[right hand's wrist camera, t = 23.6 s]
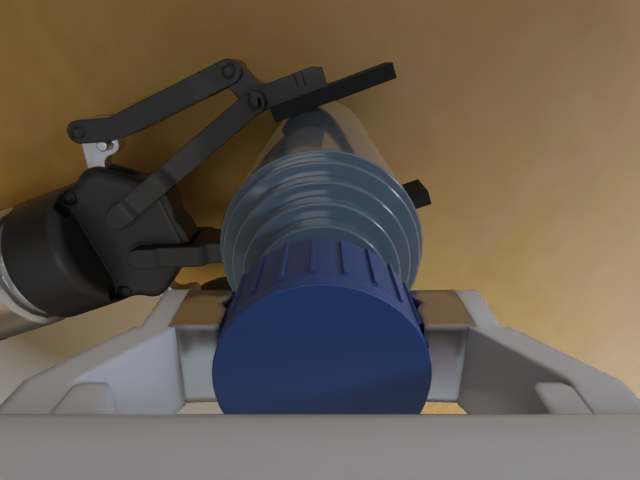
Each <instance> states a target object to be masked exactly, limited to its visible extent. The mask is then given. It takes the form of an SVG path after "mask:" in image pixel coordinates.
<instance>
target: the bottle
mask: <svg viewBox="0 0 640 480" xmlns="http://www.w3.org/2000/svg"><path fill="white" fill-rule="evenodd" d="M312 238H316V239H332V240H338V241H340V239H341V240H344V242H348V243H351V244H355V245H357V246H360V247H362V248H365V249H367V248H368V249H370V250H371V252H372V253H374V254H375V255H377V256H378V257H380V258H381V259H382V260H383V261H385V262H386V263H387V264H389V263H390V264H391V265H392V267H393V270H394V271H395V273H396V274H397V275H398V277H399V278H400V280H401V282H402V283H406V285H407V287H408V290H409V291H410V290H411V288H412V286H413V284H414V282H415V279H416V276H417V273H418V268H419V265H420V261H421V255H422V242H423V239H422V229H421V224H420V220H419V216H418V214H417V211H416V209H415V206H414V204H413V202H412V200H411V199H410V197H409V195H408V194H407V192H406V190H405V189H404V187H403V186H402V184H401V183H400V181H399V180H398V178H397V177H396V175H395V174H394V172H393V171H392V169H391V168H390V166H389V165H388V163H387V161H386V160H385V158H384V157H383V155H382V154H381V152H380V151H379V149H378V148H377V146H376V145H375V143H374V142H373V140H372V139H371V137H370V136H369V134H368V133H367V131H366V130H365V128H364V126H363V125H362V123H361V122H360V120H359V119H358V117H357V116H356V115H355V114H354V113H353V112H352V111H351V110H350V109H349V108H348V107H346V106H345V105H343V104H341V103H339V102H337V101H333V102H330V103H327V104H325V105H322V106H319V107H317V108H314V109H311V110H308V111H306V112H303V113H300V114H298V115H295V116H292V117H290V118H287V119H284V120H282V122H281V123H280V125H279V126H278V128H277V130H276V131H275V133H274V134H273V136H272V137H271V139H270V140H269V142H268V144H267V145H266V147H265V148H264V150H263V151H262V153H261V154H260V156H259V158H258V159H257V161H256V162H255V164H254V165H253V167H252V168H251V170H250V171H249V173H248V175H247V176H246V178H245V179H244V181H243V182H242V184H241V185H240V187H239V189H238V190H237V192H236V193H235V195H234V196H233V198H232V199H231V201H230V203H229V206H228V208H227V210H226V212H225V216H224V219H223V222H222V227H221V234H220V251H221V258H222V263H223V266H224V270H225V274H226V277H227V280H228V283H229V285H230V287H231V289H232V291H235V292H237V289H238V286H239V283H240V281H241V278H242V275H243V274H244V273H245V274H247V273H248V272H249V270H250V269H251V268H252V267H253V266H254V265H255V264H256V263H257V262H258V261H259V260H260V257H262V256H264V257H265V256H266V255H268V254H269V253H271V252H273V251H275V250H277V249H279V248H281V247H283V246H284V244H287V243H288V245H289V244H291V243H295V242H300V241H304V240H312Z"/></svg>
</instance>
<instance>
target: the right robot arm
mask: <svg viewBox="0 0 640 480" xmlns="http://www.w3.org/2000/svg"><path fill="white" fill-rule="evenodd" d="M409 293H410V295H411V298H412V300H413V303H414V305H415V308H416V311H417V313H418V316H419V318H420V321H421V324H419V326H420V329H421V332H422V334H423V337H424V340H425V342H426V344H429V349H428V351H429V354H430V359H431V365H432V379H431V386H430V391H429V394H428V397H427V401H426V402H452V403H458V405H459V406H460V407H461V408H462V409H463V410H465V411H466V412H467V413H468V414H176V413H177V412H178V411H179V410H180V409H181V408H183V407H184V406H185V403H191V402H218V401H217V399H216V396H215V392H214V388H213V383H212V362H213V357H214V353H215V349H216V346H217V344H218V341H219V338H217V334H218V332H220V330H221V328H222V325H223V323H224V320H225V318H226V315H227V312H226V310H227V308H228V305H229V303H231V301H232V299H233V296H234V295H235V294H236V292H235V291H228V290H190V289H182V290H166V291H165V293H164V294H163V296H162V297H161V299H160V300H159V302H158V303H157V305H156V306H155V307H154V309H153V310H152V312H151V313H150V315H149V316H148V318H147V319H146V320H145V322H144V323H143V325H142V326H141V327H133V328H131V329H129V330H127V331H125V332H122V333H120V334H118V335H116V336H114V337H112V338H110V339H108V340H106V341H104V342H102V343H100V344H98V345H96V346H94V347H92V348H90V349H88V350H86V351H84V352H81V353H79V354H77V355H75V356H73V357H71V358H69V359H67V360H65V361H63V362H61V363H59V364H57V365H55V366H53V367H51V368H49V369H47V370H45V371H43V372H40V373H39V374H36V375H34V376H32V377H30V378H28V379H26V380H24V381H23V382H22V383H21V384H20V385H19V386H18V387H17V388H16V389H15V390H14V391H13V393H12V394H11V395H10V396H9V397H8V398H7V399H6V400H5V401H4V402H3V403H2V404H1V405H0V480H640V400H639V399H638V398H637V396H636V395H635V394H634V393H633V392H632V391H631V390H630V389H629V388H628V387H627V386H626V385H625V384H624V383H623V382H622V381H620V380H618V379H616V378H614V377H612V376H610V375H608V374H606V373H604V372H602V371H600V370H598V369H596V368H594V367H592V366H590V365H587V364H585V363H583V362H581V361H579V360H577V359H575V358H573V357H571V356H569V355H567V354H565V353H563V352H561V351H559V350H557V349H554V348H552V347H550V346H548V345H546V344H544V343H542V342H540V341H538V340H536V339H534V338H532V337H530V336H528V335H526V334H524V333H522V332H519V331H517V330H515V329H513V328H511V327H502V325H501V324H500V322H499V321H498V319H497V318H496V317H495V315H494V314H493V312H492V311H491V310H490V308H489V307H488V305H487V304H486V303H485V301H484V300H483V298H482V297H481V295H480V294H479V293H478V291H476V290H474V289H468V290H416V291H409Z"/></svg>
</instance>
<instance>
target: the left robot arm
mask: <svg viewBox="0 0 640 480" xmlns="http://www.w3.org/2000/svg"><path fill="white" fill-rule="evenodd" d="M394 78H397V77H396V74H395V70H394V67H393V63H392V62H385V63H382V64H380V65H377V66H374V67H372V68H369V69H366V70H364V71H361V72H358V73H356V74H353V75H350V76H348V77H345V78H342V79H340V80H337V81H335V82H332V83H329V84H327V82H326V79H325V76H324V73H323V70H322V67H310V68H307V69H304V70H302V71H299V72H297V73H294V74H291V75H289V76H286V77H284V78H281V79H278V80H276V81H273V82H270V83H263V82H260V81H259V80H257V79H256V78H255V77H254V75H253V74H252V73H251V72H250V71H249V69H248V68H247V66H246V64H245V63H244V62H243V61H241V60H239V59H224V60H221V61H219V62H218V63H216V64H214V65H212V66H210V67H208V68H206V69H204V70H202V71H200V72H198V73H196V74H194V75H192V76H190V77H188V78H186V79H184V80H182V81H180V82H178V83H176V84H174V85H172V86H170V87H168V88H166V89H164V90H162V91H160V92H158V93H156V94H154V95H152V96H150V97H148V98H146V99H144V100H142V101H140V102H138V103H136V104H134V105H132V106H130V107H128V108H127V109H125V110H123V111H121V112H119V113H117V114H111V115H98V116H93V117H89V118H85V119H81V120H77V121H73V122H71V123H70V124H69V125H68V128H67V131H68V135H69V137H70V138H71V139H72V140H73V141H74V142H76V143H79V144H81V145H82V149H83V152H84V156H85V160H86V163H87V167H88V169H87V170H85V171H84V172H83V173H82V175H81V176H80V178H79V179H78V180H77V181H76V182H75V183H73V184H71V185H68V186H65V187H63V188H60V189H57V190H55V191H52V192H49V193H47V194H44V195H42V196H39V197H36V198H34V199H31V200H28V201H26V202H23V203H21V204H19V205H17V206H16V207H15V208H7V209H5V210H2V211H0V340H3V339H6V338H9V337H12V336H15V335H18V334H21V333H24V332H27V331H31V330H34V329H37V328H40V327H43V326H46V325H49V324H52V323H55V322H58V321H61V320H63V319H65V318H66V317H72V316H76V315H79V314H82V313H85V312H88V311H91V310H94V309H97V308H100V307H103V306H106V305H109V304H112V303H115V302H118V301H121V300H123V299H126V298H128V297H131V296H134V295H146V296H158V295H159V296H160V297H162V296H163V294H164V293H165V291H166V290H182V289H190V290H228V291H232V289H231V287H230V285H229V283H228V280H227V277H222V278H218V279H215V280H211V281H209V282H207V283H205V284H203V285H201V286H200V284H199V283H198V282H193V283H188V284H183V285H182V284H179V283H177V282H176V281H174V279H175V278H176V276H177V275H178V273H179V271H180V270H181V268H182V267H198V266H203V265H206V264H208V263H219V262H222V258H221V251H220V234H221V229H215V228H213V227H197V226H196V224H195V222H194V220H193V219H192V218H191V216H190V215H189V214H188V213H187V212H186V210H185V209H184V205H183V200H182V196H181V194H180V192H179V190H178V188H177V186H176V184H177V183H178V182H179V181H180V180H182V179H183V178H184V177H185V176H186V175H187V174H189V173H190V172H191V171H192V170H193V169H195V168H196V167H197V166H198V165H199V164H201V163H202V162H203V161H204V160H205V159H206V158H208V157H209V156H210V155H211V154H212V153H214V152H215V151H216V150H217V149H218V148H220V147H221V146H222V145H223V144H224V143H225V142H227V141H228V140H229V139H230V138H231V137H233V136H234V135H235V134H236V133H237V132H239V131H240V130H241V129H242V128H243V127H245V126H246V125H247V124H248V123H249V122H250V121H252V120H253V119H254V118H255V117H256V116H258V115H259V114H260V113H261V112H263V111H266V110H268V109H271V112H272V114H273V117H274V119H275V122H279V121H282V120H284V119H287V118H290V117H292V116H295V115H298V114H300V113H303V112H306V111H308V110H311V109H314V108H317V107H319V106H322V105H325V104H327V103H330V102H333V101H335V100H338V99H341V98H343V97H346V96H349V95H351V94H354V93H357V92H360V91H362V90H365V89H368V88H370V87H373V86H376V85H378V84H381V83H384V82H386V81H389V80H392V79H394ZM227 88H230V89H231V90H232V92H233V93H234V94H235V95H236V96H237V97H238V99H239V100H237V101H236V102H235V103H234V104H233V105H232V106H230V107H229V108H228V109H227V110H226V111H225V112H223V113H222V114H221V115H220V116H219V117H218V118H217V119H215V120H214V121H213V122H212V123H211V124H210V125H208V126H207V127H206V128H205V129H204V130H203V131H201V132H200V133H199V134H198V135H197V136H196V137H195V138H193V139H192V140H191V141H190V142H189V143H188V144H186V145H185V146H184V147H183V148H182V149H181V150H180V151H178V152H177V153H176V154H175V155H174V156H173V157H171V158H170V159H169V160H168V161H167V162H166V163H164V164H163V165H162V166H161V167H160V168H158V169H157V170H156V171H155V172H153V173H152V174H148V173H144V172H141V171H137V170H133V169H130V168H126V167H122V166H119V165H115V164H112V156H113V155H114V154H115V153H117V152H119V151H121V150H122V149H124V147H125V137H126V136H129V135H132V134H134V133H137V132H139V131H142V130H144V129H146V128H148V127H150V126H152V125H154V124H156V123H158V122H161V121H163V120H165V119H167V118H169V117H171V116H173V115H175V114H177V113H179V112H181V111H183V110H185V109H187V108H189V107H191V106H193V105H195V104H197V103H199V102H201V101H203V100H205V99H207V98H209V97H211V96H213V95H215V94H217V93H219V92H221V91H223V90H225V89H227ZM402 186H403V187H404V189H405V190H406V192H407V194H408V195H409V197H410V199H411V200H412V202H413V204H414V206H415V209H417V208H420V207H423V206H426V205H429V204H431V201H430V197H429V193H428V191H427V190H426V188H425V187H424V186H423V185H422V184H421V182H420V181H419V180H418V179H417V180H415V181H412V182H409V183H406V184H403V185H402Z"/></svg>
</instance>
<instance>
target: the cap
mask: <svg viewBox="0 0 640 480" xmlns="http://www.w3.org/2000/svg"><path fill="white" fill-rule="evenodd" d="M226 312H227V315H226V318H225V320H224V323H223V325H222V328H221V330H220V332H218V334H217V338H219V341H218V344H217V346H216V349H215V353H214V357H213V362H212V383H213V388H214V392H215V396H216V399H217V401H218V404H219V406H220V408H221V410H222V412H223V413H224V414H420V413H421V411H422V409H423V407H424V405H425V403H426V401H427V397H428V394H429V391H430V386H431V379H432V365H431V359H430V354H429V351H428V349H429V344H426V342H425V340H424V337H423V334H422V332H421V329H420V326H419V324H421V321H420V318H419V316H418V313H417V311H416V308H415V305H414V303H413V300H412V298H411V295H410V293H409V290H408V287H407V285H406V283H402V282H401V280H400V278H399V277H398V275H397V274H396V273H395V271H394V270H393V267H392V265H391V264H390V263H389V264H387V263H386V262H385V261H383V260H382V259H381V258H380V257H378V256H377V255H375V254H374V253H372V252H371V250H370V249H368V248H367V249H365V248H362V247H360V246H357V245H355V244H351V243H348V242H344V240H341V239H340V241H338V240H332V239H316V238H312V240H304V241H300V242H295V243H291V244H289V245H288V243H287V244H284V246H283V247H281V248H279V249H277V250H275V251H273V252H271V253H269V254H268V255H266V256H265V257H264V256H262V257H260V260H259V261H258V262H257V263H256V264H255V265H254V266H253V267H252V268H251V269H250V270H249V272H248V273H247V274H245V273H244V274H243V275H242V278H241V281H240V283H239V286H238V289H237V292H236V294H235V295H234V296H233V299H232V301H231V303H229V305H228V308H227V310H226Z"/></svg>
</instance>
